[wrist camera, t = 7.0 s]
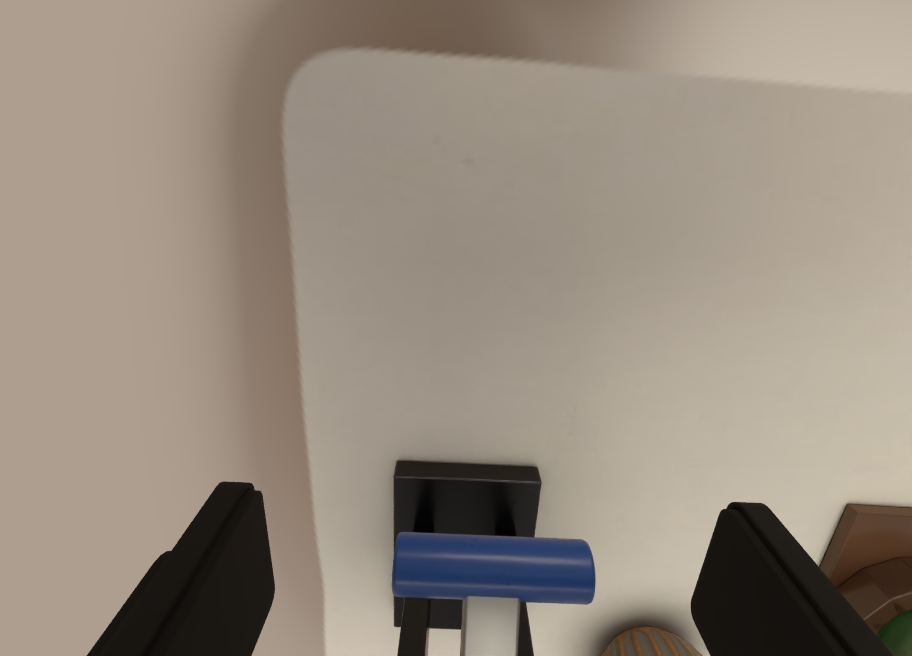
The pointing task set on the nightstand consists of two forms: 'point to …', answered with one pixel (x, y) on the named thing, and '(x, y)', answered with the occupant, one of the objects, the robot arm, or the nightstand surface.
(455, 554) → the light lever
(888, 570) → the button block
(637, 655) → the vase
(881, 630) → the light button
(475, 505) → the switch bracket
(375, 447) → the nightstand surface
